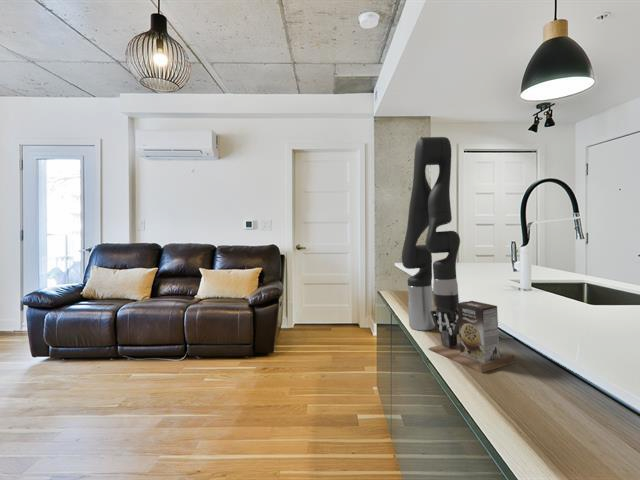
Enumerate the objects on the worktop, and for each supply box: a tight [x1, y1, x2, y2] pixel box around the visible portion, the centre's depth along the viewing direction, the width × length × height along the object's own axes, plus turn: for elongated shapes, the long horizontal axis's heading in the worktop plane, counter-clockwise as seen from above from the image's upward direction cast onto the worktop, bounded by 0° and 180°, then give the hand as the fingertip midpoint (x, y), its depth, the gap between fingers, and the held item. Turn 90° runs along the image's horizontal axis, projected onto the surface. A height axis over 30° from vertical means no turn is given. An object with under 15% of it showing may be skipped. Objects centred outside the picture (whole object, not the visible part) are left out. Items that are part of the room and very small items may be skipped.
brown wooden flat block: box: [427, 328, 516, 374], centre depth 100 cm, size 21×13×6 cm, turn 22°
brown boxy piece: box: [457, 300, 501, 363], centre depth 96 cm, size 9×6×16 cm
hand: (449, 343), depth 108 cm, fingers closed on brown wooden flat block, 3 cm apart
